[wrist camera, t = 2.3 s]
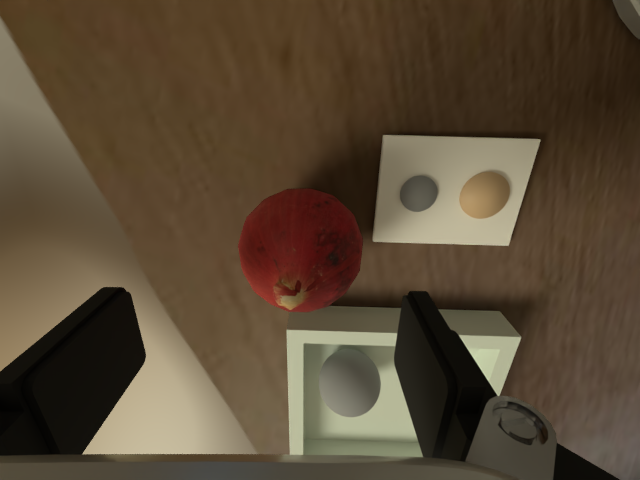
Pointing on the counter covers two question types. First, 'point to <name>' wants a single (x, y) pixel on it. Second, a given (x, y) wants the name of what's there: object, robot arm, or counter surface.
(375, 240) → the tile
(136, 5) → the counter surface
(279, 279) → the onion
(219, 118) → the counter surface
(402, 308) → the robot arm
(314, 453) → the dish
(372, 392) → the ball
